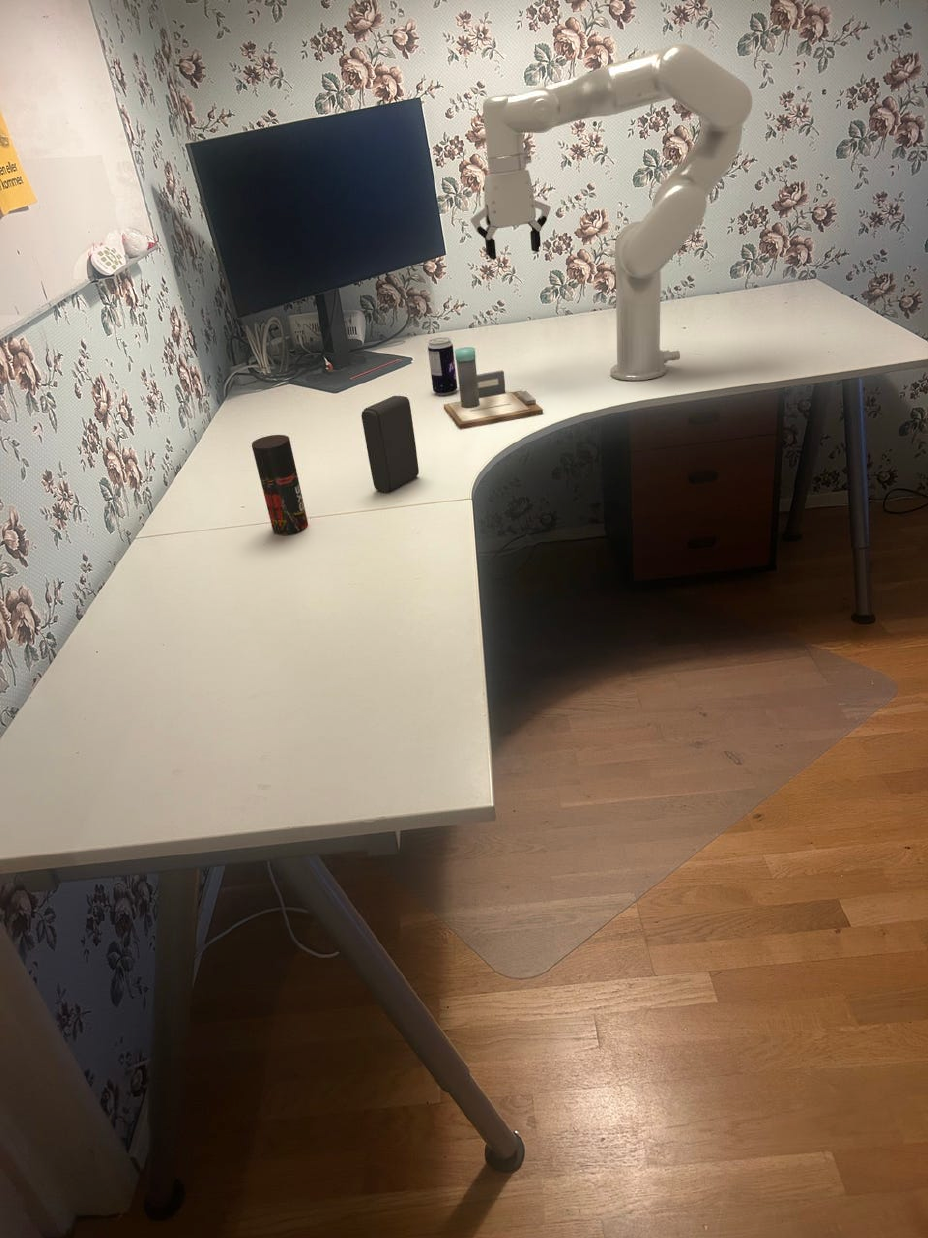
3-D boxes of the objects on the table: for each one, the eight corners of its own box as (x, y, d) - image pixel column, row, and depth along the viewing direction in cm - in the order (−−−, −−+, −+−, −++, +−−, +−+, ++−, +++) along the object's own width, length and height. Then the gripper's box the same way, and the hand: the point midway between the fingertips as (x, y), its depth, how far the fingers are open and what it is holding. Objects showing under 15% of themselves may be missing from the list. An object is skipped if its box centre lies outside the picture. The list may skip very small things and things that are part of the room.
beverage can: (455, 396, 194) (449, 342, 188) (431, 397, 195) (424, 344, 189) (460, 388, 199) (454, 336, 193) (436, 389, 200) (430, 337, 194)
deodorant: (274, 522, 144) (253, 437, 136) (309, 517, 144) (290, 432, 136) (271, 537, 139) (249, 450, 131) (307, 532, 139) (287, 445, 131)
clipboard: (521, 394, 190) (521, 385, 189) (543, 413, 177) (542, 404, 176) (443, 408, 187) (442, 399, 186) (459, 429, 174) (458, 419, 173)
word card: (504, 392, 193) (502, 370, 190) (505, 393, 192) (503, 371, 189) (461, 399, 191) (459, 377, 189) (462, 401, 190) (460, 379, 188)
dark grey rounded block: (406, 472, 157) (394, 392, 149) (422, 476, 155) (411, 395, 147) (372, 491, 151) (357, 409, 144) (388, 495, 149) (374, 411, 141)
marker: (477, 400, 185) (472, 346, 179) (482, 406, 182) (476, 350, 176) (458, 404, 185) (452, 349, 179) (463, 409, 181) (457, 353, 175)
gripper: (540, 158, 178) (546, 246, 187) (461, 171, 175) (471, 259, 184) (552, 159, 172) (558, 250, 181) (470, 172, 169) (480, 263, 178)
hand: (514, 254), depth 182 cm, fingers open, 9 cm apart
